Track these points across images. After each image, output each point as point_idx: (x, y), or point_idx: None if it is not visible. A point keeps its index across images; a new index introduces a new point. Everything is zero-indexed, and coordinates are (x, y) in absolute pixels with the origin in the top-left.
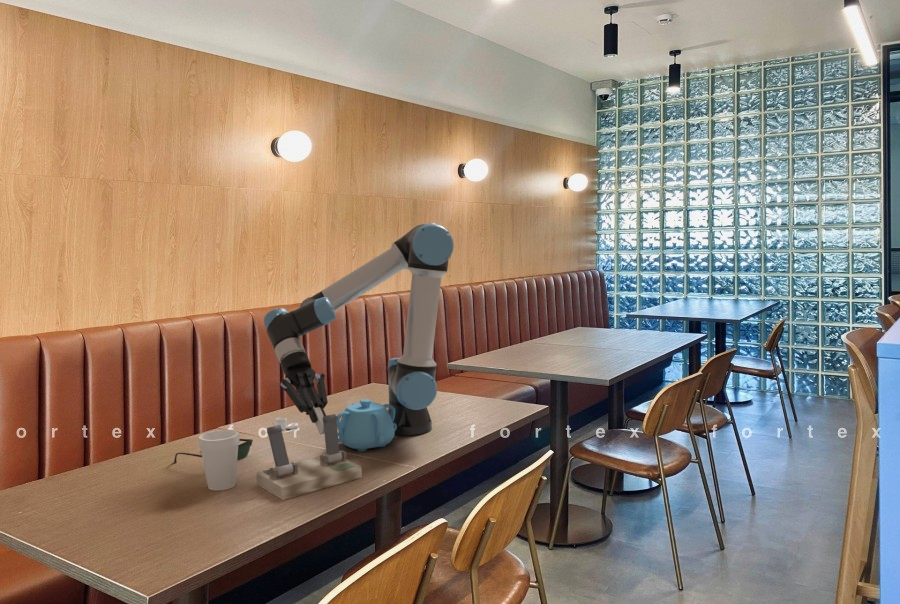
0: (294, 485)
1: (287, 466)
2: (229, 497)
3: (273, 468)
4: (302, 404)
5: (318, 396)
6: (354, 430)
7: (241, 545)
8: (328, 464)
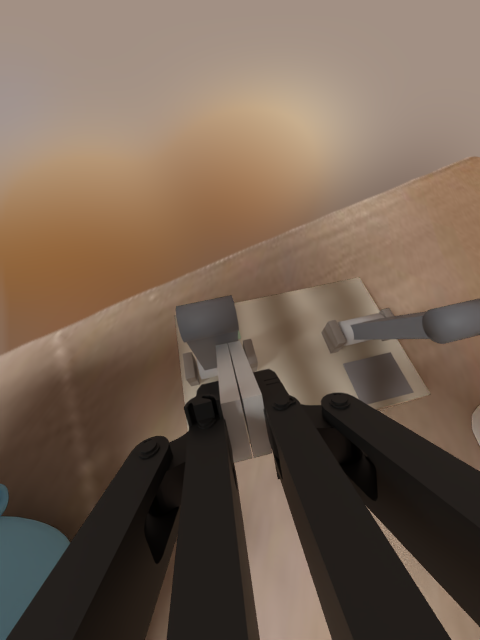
0: (333, 283)
1: (354, 320)
2: (462, 349)
3: None
4: (359, 406)
5: (187, 496)
6: (25, 574)
7: (402, 195)
8: None
